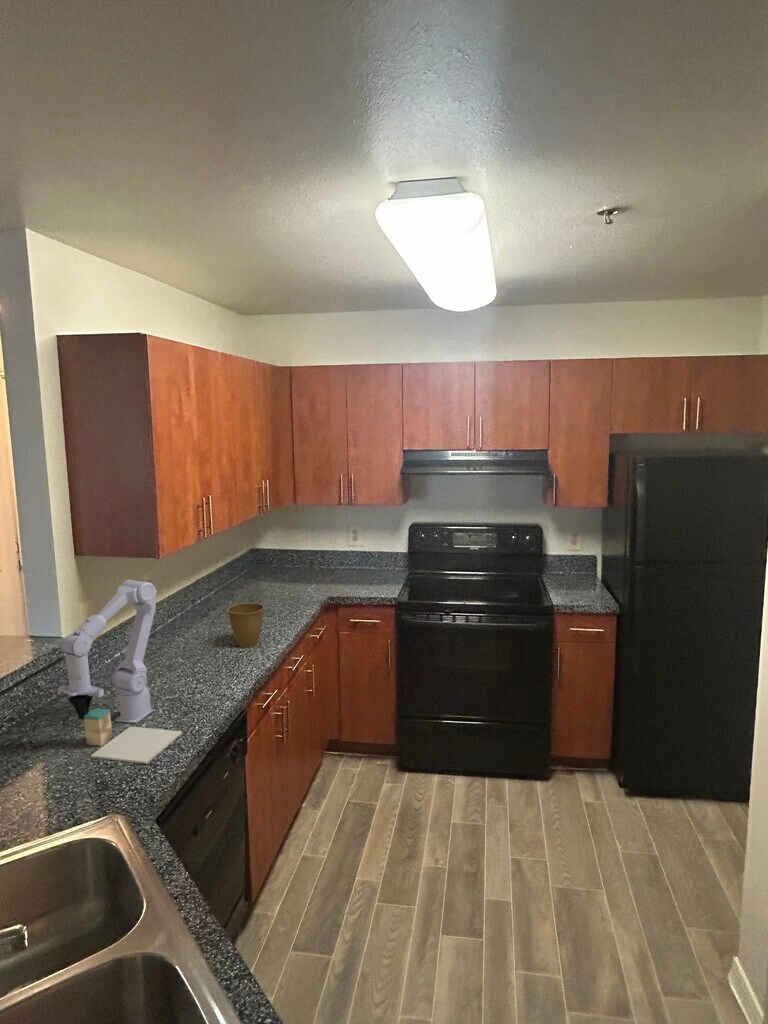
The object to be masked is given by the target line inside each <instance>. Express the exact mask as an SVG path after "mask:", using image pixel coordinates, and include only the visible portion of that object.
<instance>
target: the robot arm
mask: <svg viewBox="0 0 768 1024" xmlns="http://www.w3.org/2000/svg"><path fill="white" fill-rule="evenodd" d="M157 592H158V591H157V589H156V587H155V586H154V584H153V583H152V582H149V581H140V580H133V579H127V580H125V581H123V582H122V584H121V585H119V587H118V588H117V591H116V593H115V594H114V595H113V596H112V598H111V599H110V600H109V601H108V602H107V604H105V606H104V607H103V608H102V609H101V610H100V611H99V612H98V613H97V614H92V615H90V616H87V617H86V618H85V621H84V622H83V623H82V624H81V625H80V626H78V628H77V629H76V628H75V630H74V631H73V633H71V634H68V635H67V636H65V637H63V640H62V643H61V644H60V650H61V651H62V653H64V655H65V660H66V668H67V678H68V685H61V686H59V687H58V688H57V694H58V695H63V694H64V695H65V694H66V695H68V696H69V698H68V702H69V703H70V704H71V705H72V707H73V708H74V710H75V712H76V715H77V716H78V718H79V720H84V715H86V714H87V713H89V710H90V705H91V703H92V700H93V698H94V697H96V698H102V697H103V696H104V695H105V693H104V688H101V687H100V688H99V687H97V686H94V685H91V677H90V668H89V667H90V663H89V659H88V658H89V656H88V653H90V651H91V647H92V644H93V643H94V641H95V640H96V639H97V637H99V636H100V634H101V633H103V631H104V630H106V628H107V622H108V621H109V620H110V619H112V617H114V616H115V615H116V614H117V613H119V611H120V610H121V609H122V608H124V607H125V606H126V605H132V606H133V608H134V609H135V610H136V613H135V618H134V621H133V625H132V630H131V633H130V636H129V637H130V638H129V641H128V646H127V650H126V654H125V658H124V659H123V660H122V661H121V662H120V663H118V666H117V669H116V671H115V672H114V674H113V676H112V685H113V686H114V687H116V689H117V692H118V701H119V709H120V716H118V717H117V718H115V720H114V721H115V722H118V723H128V724H129V723H131V724H138V723H139V722H140V721H142V719H145V717H147V716H148V715H150V714H151V713H152V712H154V708H152V705H151V696H150V691H149V688H148V687H147V686H146V685H147V681H148V680H147V672H148V669H147V667H146V665H145V664H144V659H145V654H146V650H147V646H148V642H149V637H150V634H151V629H152V625H153V622H154V616H155V613H156V609H157V608H156V606H157V605H156V604H157V603H156V597H157V596H156V595H157Z"/></svg>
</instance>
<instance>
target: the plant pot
mask: <svg viewBox="0 0 768 1024" xmlns="http://www.w3.org/2000/svg"><path fill="white" fill-rule="evenodd" d="M264 611H265V606H264V605H263V604H260V603H253V602H252V603H250V602H248V603H237V604H234V605H231V606H230V607H228V608H227V614H228V619H229V623H230V626H231V629H232V631H233V635H234V637H235V640H236V642H237V644H238V646H239V647H240V648H252V647H255V646H256V645H258V641H259V639H260V635H261V631H262V625H263V620H264V613H265V612H264Z"/></svg>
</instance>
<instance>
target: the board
mask: <svg viewBox="0 0 768 1024" xmlns="http://www.w3.org/2000/svg"><path fill="white" fill-rule="evenodd" d="M182 734H183V731H182V730H181V731H180V730H172V729H171V730H170V729H159V728H152V727H151V728H149V727H139V726H128V727H127V728H126V729H125V730H123V731H122V732H121V733H120V734H118V735H116V736H115V737H113V738H112V739H111V740H109V741H108V742H106V743H105V744H104V745H102V746H101V747H100V748H99V749H97V750H96V751H95V752H94V753H92V754H90V758H93V759H101V760H108V761H109V760H110V761H111V760H112V761H117V762H119V761H120V762H127V763H135V764H136V763H138V764H145V765H147V764H148V763H150V762H151V760H153V759H154V758H156V756H157V755H159V753H161V752H163V750H164V749H166V748H167V747H168V746H169V745H170V744H171V743H172V742H174V741H175V740H176V739H177V738H179V737H180V736H181V735H182Z"/></svg>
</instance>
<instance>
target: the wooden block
mask: <svg viewBox="0 0 768 1024" xmlns="http://www.w3.org/2000/svg"><path fill="white" fill-rule="evenodd" d="M83 720H84V727H85V738H86V739H85V740H86V745H89V746H96V745H98V746H99V747H103V746H104V745H106V744H107V743H108V742H110V741H111V740H112V739H114V737H113V728H112V719H111V710H110V709H107V708H94V709H92V710H90V711H88V713H87V714H86V715H84V719H83ZM111 738H112V739H111ZM110 739H111V740H110ZM107 741H108V742H107ZM98 746H97V747H98Z"/></svg>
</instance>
